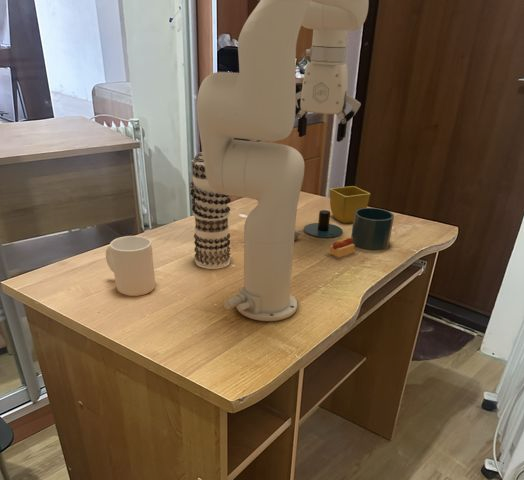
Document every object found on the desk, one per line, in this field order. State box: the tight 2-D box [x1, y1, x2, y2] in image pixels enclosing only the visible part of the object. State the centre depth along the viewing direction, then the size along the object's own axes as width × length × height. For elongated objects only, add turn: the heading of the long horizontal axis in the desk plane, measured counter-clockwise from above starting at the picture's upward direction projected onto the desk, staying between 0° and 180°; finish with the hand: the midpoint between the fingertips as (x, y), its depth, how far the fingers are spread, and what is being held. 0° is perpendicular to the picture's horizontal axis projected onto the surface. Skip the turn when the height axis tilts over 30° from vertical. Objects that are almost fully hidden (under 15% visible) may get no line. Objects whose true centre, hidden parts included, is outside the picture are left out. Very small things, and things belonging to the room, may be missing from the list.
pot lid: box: [303, 209, 343, 239], centre depth 136 cm, size 11×11×6 cm
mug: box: [105, 235, 156, 297], centre depth 104 cm, size 12×8×10 cm
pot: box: [350, 207, 395, 252], centre depth 129 cm, size 10×10×8 cm
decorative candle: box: [189, 151, 231, 270], centre depth 112 cm, size 9×9×25 cm
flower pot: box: [329, 185, 371, 224], centre depth 144 cm, size 9×9×9 cm
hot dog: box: [328, 237, 356, 258], centre depth 124 cm, size 6×3×4 cm, turn 130°
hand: (320, 138), depth 119 cm, fingers open, 9 cm apart
